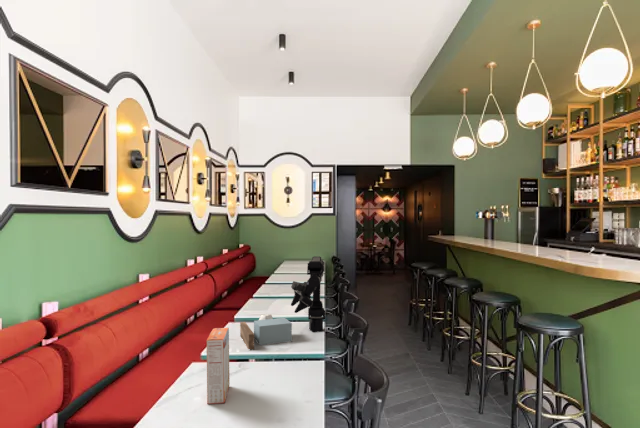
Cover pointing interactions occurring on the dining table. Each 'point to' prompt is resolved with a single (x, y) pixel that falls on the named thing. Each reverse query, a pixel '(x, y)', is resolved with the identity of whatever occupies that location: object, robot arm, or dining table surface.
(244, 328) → the walnut board
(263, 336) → the slate block
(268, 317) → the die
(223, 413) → the dining table surface
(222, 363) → the cracker box
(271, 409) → the dining table surface
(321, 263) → the robot arm
